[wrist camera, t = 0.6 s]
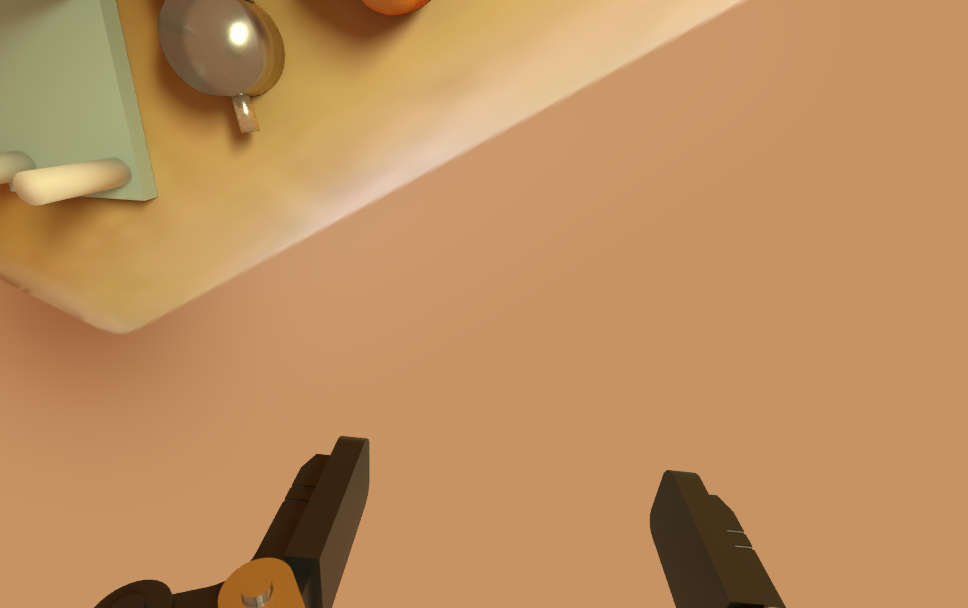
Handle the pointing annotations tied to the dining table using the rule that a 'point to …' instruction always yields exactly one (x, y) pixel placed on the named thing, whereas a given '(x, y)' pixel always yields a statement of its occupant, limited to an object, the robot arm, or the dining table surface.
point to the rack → (69, 104)
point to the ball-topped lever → (223, 50)
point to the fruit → (394, 6)
